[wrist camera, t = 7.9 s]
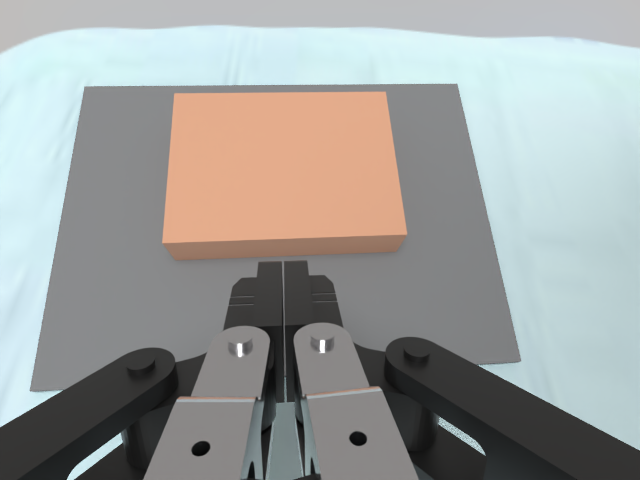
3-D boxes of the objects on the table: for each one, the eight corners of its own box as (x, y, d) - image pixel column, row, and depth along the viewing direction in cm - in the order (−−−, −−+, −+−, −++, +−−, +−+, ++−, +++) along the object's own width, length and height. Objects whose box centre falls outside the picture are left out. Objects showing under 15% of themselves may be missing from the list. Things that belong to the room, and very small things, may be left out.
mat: (455, 88, 29) (457, 83, 28) (517, 362, 22) (521, 361, 22) (87, 91, 27) (84, 86, 27) (34, 391, 20) (29, 391, 20)
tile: (396, 251, 24) (377, 119, 27) (407, 234, 21) (385, 91, 25) (175, 260, 23) (184, 121, 26) (162, 243, 20) (174, 93, 24)
